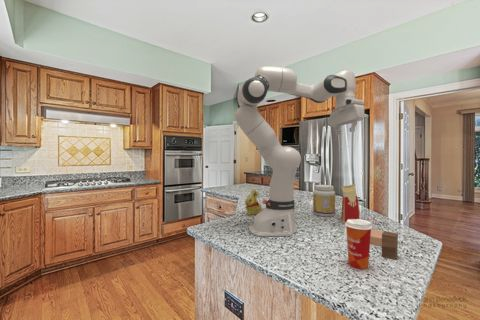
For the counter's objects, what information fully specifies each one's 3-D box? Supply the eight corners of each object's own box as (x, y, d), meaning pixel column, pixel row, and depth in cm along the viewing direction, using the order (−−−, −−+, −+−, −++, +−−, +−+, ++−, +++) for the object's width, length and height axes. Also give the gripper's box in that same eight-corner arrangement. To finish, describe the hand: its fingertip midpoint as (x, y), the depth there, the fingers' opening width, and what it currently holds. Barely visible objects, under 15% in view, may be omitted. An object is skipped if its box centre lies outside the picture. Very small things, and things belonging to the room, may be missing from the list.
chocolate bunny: (243, 214, 140) (243, 189, 139) (260, 212, 144) (259, 188, 143) (248, 217, 133) (247, 190, 133) (265, 215, 137) (265, 189, 137)
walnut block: (395, 260, 79) (395, 236, 79) (381, 256, 82) (381, 233, 81) (397, 256, 82) (397, 233, 82) (384, 253, 84) (384, 230, 84)
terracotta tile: (389, 248, 89) (389, 240, 89) (360, 241, 96) (360, 234, 95) (394, 240, 96) (394, 233, 96) (367, 235, 103) (367, 228, 103)
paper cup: (340, 260, 79) (340, 218, 79) (362, 259, 80) (362, 218, 79) (353, 271, 71) (354, 225, 71) (377, 270, 72) (378, 224, 72)
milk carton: (358, 219, 127) (358, 182, 126) (360, 224, 118) (360, 184, 118) (339, 218, 130) (339, 182, 129) (341, 223, 121) (341, 184, 121)
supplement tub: (311, 211, 145) (311, 184, 145) (332, 212, 144) (332, 184, 143) (315, 216, 133) (315, 187, 133) (337, 217, 132) (337, 187, 131)
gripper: (326, 109, 124) (325, 135, 123) (355, 98, 104) (355, 129, 104) (336, 110, 126) (336, 136, 125) (367, 100, 106) (366, 130, 105)
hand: (344, 133), depth 114 cm, fingers open, 8 cm apart
